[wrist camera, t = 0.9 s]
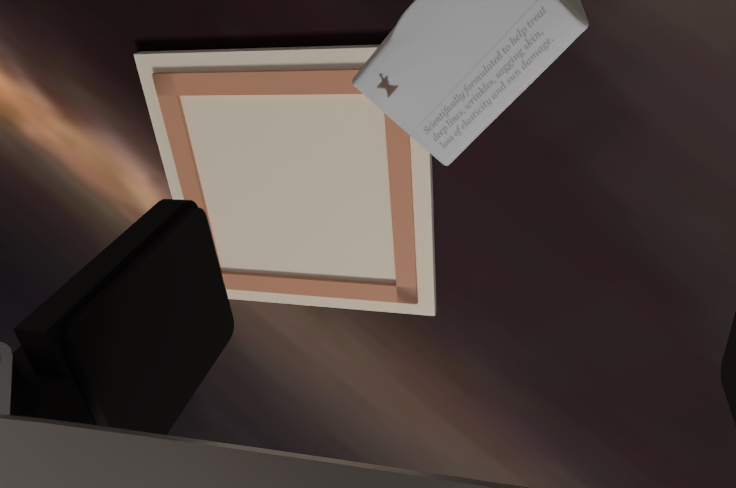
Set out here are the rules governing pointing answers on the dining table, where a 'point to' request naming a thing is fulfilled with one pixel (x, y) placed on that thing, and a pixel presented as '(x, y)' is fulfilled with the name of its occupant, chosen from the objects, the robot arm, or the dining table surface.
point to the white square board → (296, 175)
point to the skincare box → (464, 64)
